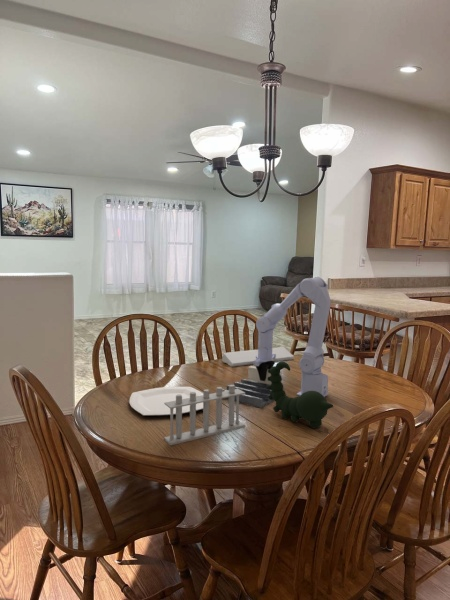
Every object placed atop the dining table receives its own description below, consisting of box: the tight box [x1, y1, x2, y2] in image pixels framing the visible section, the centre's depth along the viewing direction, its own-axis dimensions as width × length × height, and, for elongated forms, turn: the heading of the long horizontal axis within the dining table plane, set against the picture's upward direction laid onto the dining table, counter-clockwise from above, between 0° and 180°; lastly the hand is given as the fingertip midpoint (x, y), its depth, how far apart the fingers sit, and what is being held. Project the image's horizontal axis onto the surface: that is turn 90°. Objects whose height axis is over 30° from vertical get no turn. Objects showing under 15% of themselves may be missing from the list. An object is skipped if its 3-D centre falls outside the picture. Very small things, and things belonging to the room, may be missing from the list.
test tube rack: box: [163, 384, 246, 446], centre depth 126 cm, size 25×4×13 cm, turn 122°
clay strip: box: [247, 365, 283, 385], centre depth 172 cm, size 14×2×6 cm, turn 55°
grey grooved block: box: [222, 378, 274, 409], centre depth 158 cm, size 18×16×3 cm
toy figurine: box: [268, 361, 334, 429], centre depth 135 cm, size 9×19×25 cm
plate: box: [128, 386, 203, 417], centre depth 150 cm, size 27×27×2 cm
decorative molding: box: [221, 346, 295, 367], centre depth 209 cm, size 34×5×10 cm
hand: (264, 379), depth 172 cm, fingers closed on clay strip, 2 cm apart
